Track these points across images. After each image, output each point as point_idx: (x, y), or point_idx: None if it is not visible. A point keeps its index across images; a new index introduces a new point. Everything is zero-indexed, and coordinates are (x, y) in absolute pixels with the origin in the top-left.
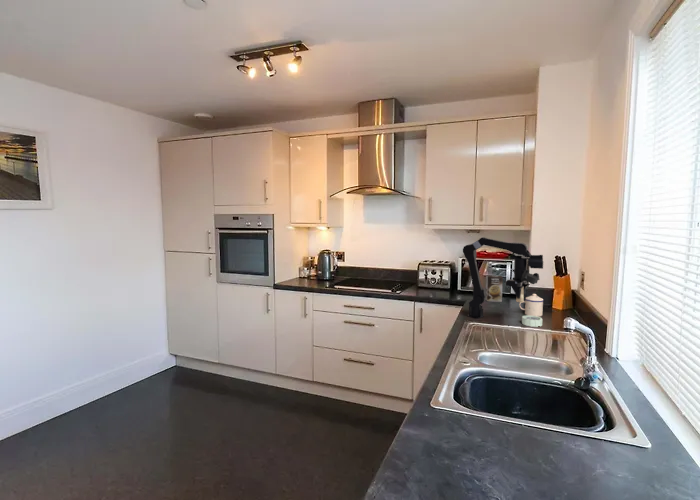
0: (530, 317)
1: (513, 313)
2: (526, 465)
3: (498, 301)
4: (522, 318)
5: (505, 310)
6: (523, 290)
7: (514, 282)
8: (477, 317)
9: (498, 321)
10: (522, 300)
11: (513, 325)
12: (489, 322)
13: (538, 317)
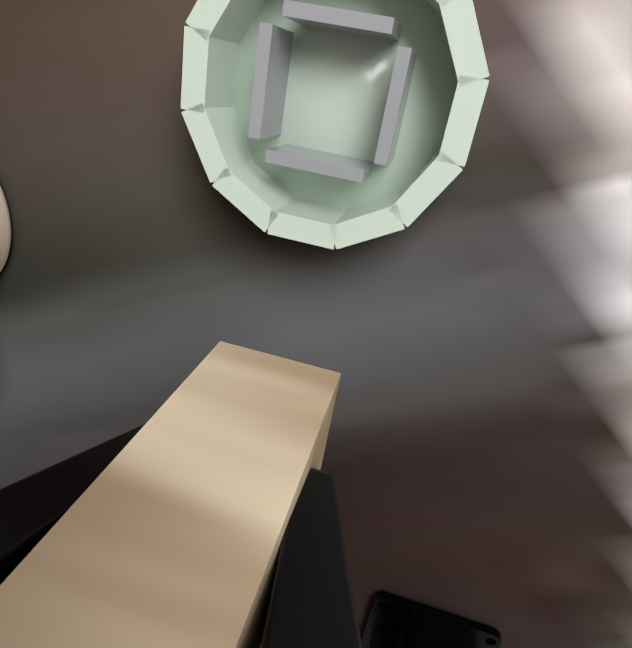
0: (232, 151)
1: (55, 385)
2: None
3: None
4: (403, 226)
5: (19, 462)
6: (13, 604)
7: None
8: (486, 637)
9: (476, 456)
10: (260, 375)
11: (567, 283)
12: (583, 525)
13: (222, 15)
